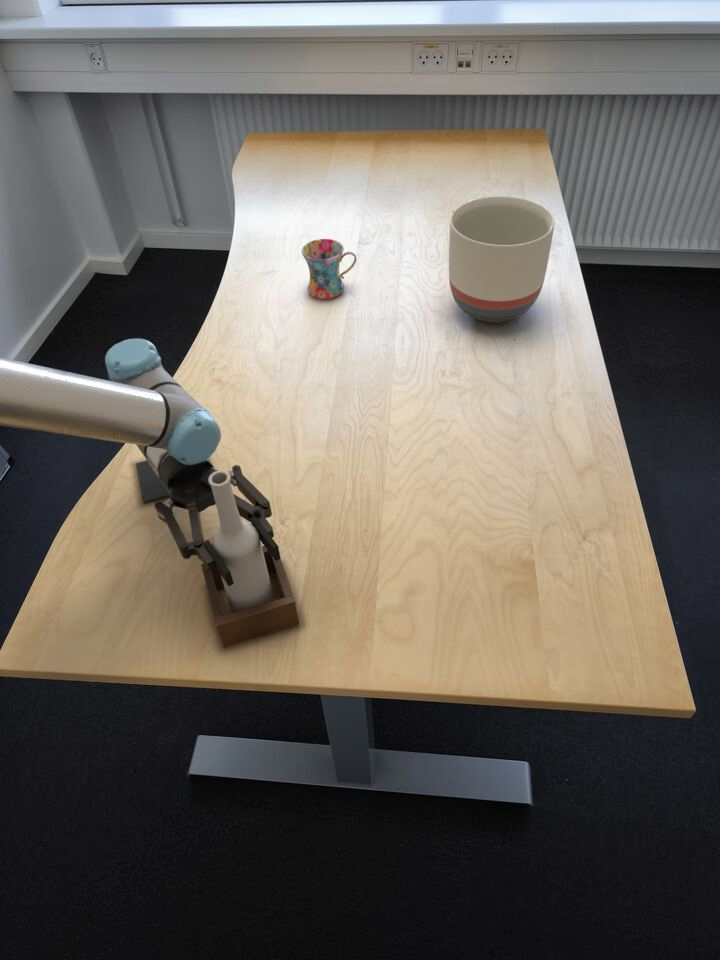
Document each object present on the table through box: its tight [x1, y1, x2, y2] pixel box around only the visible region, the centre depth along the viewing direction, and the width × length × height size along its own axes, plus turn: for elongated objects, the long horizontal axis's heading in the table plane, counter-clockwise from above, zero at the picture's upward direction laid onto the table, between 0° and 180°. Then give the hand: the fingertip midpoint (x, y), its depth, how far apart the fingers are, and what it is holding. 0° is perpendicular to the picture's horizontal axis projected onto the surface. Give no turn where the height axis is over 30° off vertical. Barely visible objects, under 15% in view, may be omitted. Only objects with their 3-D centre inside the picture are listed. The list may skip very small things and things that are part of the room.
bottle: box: [208, 469, 276, 614], centre depth 100 cm, size 7×7×28 cm
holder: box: [200, 545, 300, 649], centre depth 108 cm, size 11×11×6 cm
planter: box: [448, 195, 556, 324], centre depth 152 cm, size 20×20×21 cm
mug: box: [301, 238, 357, 300], centre depth 165 cm, size 12×9×11 cm
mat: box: [135, 460, 169, 504], centre depth 130 cm, size 12×10×1 cm
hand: (253, 566), depth 96 cm, fingers closed on bottle, 6 cm apart
